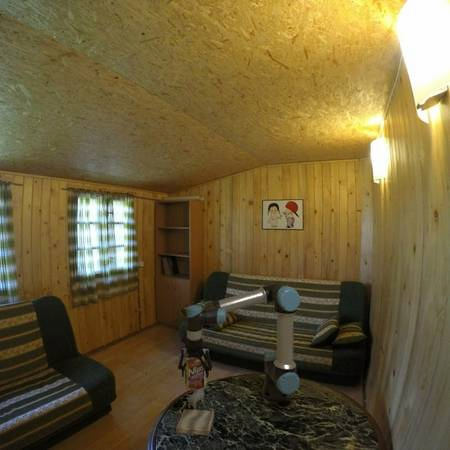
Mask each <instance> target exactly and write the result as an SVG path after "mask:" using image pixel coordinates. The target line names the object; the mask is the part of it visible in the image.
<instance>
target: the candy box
mask: <svg viewBox="0 0 450 450" xmlns="http://www.w3.org/2000/svg"><path fill="white" fill-rule="evenodd" d="M202 355H203V356H202V359H203V361H204V362H206V360H205V354H202ZM188 356H189V355H187V356H185V357H186V358H185V362H186V367H185V368H186V384H185V385H186V391H187V392H188V391H196V389H204V388H205V386H204V371H205V369H204V367H203V365H202V363H201V361H200V360H199V359H198V358H195V357H194V358H193V357H190V358H188ZM205 389H206V388H205ZM205 389H204V390H205Z"/></svg>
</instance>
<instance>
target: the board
mask: <svg viewBox="0 0 450 450" xmlns="http://www.w3.org/2000/svg"><path fill="white" fill-rule="evenodd" d="M214 419H215V411H214V410H212V411H211V410H200V409H196V410H194V409H186V408H184V409H183V410H182V414H181V415H180V418H179V420H178V423H177V425H176V427H175V433H176V434H187V435H202V436H210V434H211V430H212V427H213V422H214Z"/></svg>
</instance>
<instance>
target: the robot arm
mask: <svg viewBox="0 0 450 450" xmlns="http://www.w3.org/2000/svg"><path fill="white" fill-rule="evenodd" d="M262 303H264V304H266V305H267V304H270V303H271V304H273V311H274V313H275V314H276V351H275V352H273V351H272V352H267V353H266V354H265V355H264V383H263V385H262V389H261V393H262V394H261V395H262V397H263V399H265V401H269V402H271V403H274V404H275V403H277V404H281V403H284V402H286V401H288V399H289V398H290V395H292V394H294V393H295V392H296V391H297V390H298V389H299V387H300V384H301V382H300V377H299V375H298V374H297V363H296V362H295V361H294V316H295V315H296V314H297V309H298V307H299V306H300V304H301V297H300V294H299V292H298V291H297V290H296V289H294V288H293V287H292V286H289V285H286V284H284V283H282V282H275V283H270V284H267V285H263V286H261V287H259V289H256V290H252V291H248V292H245V293H242V294H238V295H237V294H236V295H234V296H229V297H227V298H224V299H219V300H216V301H211V300H209V301H205V302H204V304H203V307H202V306H201V305H197V304H196V305H194V304H193V305H189V306H188V307H187V308H186V324H187V325H186V338H187V340H186V345H187V347H182V348H181V349H180V353H181V354H180V359H179V363H178V366H177V368H178V370H181V377H183V386H184V385H186V361H185V362H184V360H185V359H184V358H185V354H186V353H188V355H187V356H188V358H190V357H193V358H194V357H195V358H198V359H199V360H200V361H201V363H202V365H203V367H204V369H205V371H204V386H206V387H207V383H208V378H209V376H210V373H209V372H210V371H212V369H213V364H212V360H211V357H210V353H209V352H210V349H209V348H204V347H203V326H213V325H222V324H225V323H226V321H227V313H230V312H233V311H234V312H235V311H238V310H242V309H245V308H248V307H251V306H255V305H260V304H262ZM203 355H204V357H205V359H206V360H205V362H204V361H203V359H202V356H203ZM183 362H184V363H183Z"/></svg>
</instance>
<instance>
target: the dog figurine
mask: <svg viewBox="0 0 450 450" xmlns="http://www.w3.org/2000/svg"><path fill="white" fill-rule="evenodd" d="M205 389H207V385H206V386H205V388H204V389H196V390H194V392H193V393H192V394H191V395H189V396H188V399H187V401H188V410H191V408H193V410H197V403H199V401H200V403H201V404H202V405H205V402H204V398H205ZM191 406H192V407H191Z"/></svg>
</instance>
